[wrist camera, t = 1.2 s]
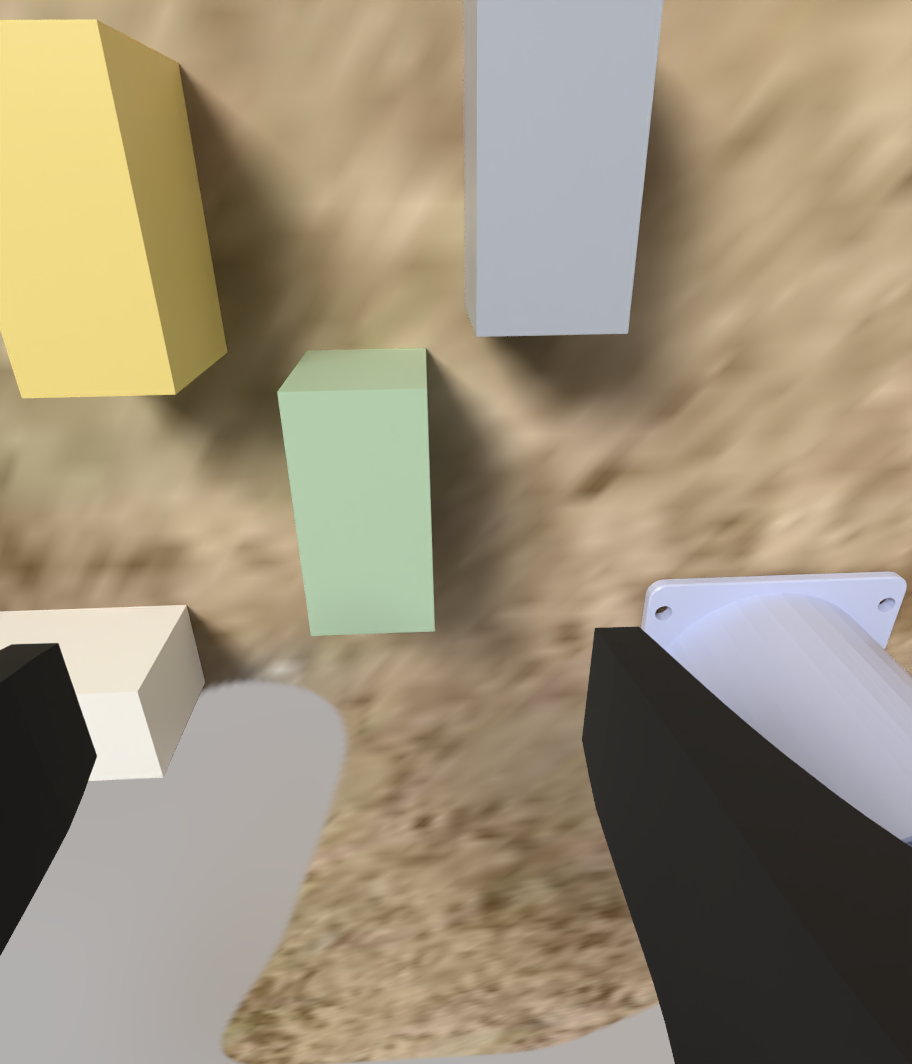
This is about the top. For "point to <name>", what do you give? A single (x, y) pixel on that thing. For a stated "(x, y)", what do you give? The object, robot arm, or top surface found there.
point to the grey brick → (555, 161)
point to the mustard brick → (100, 217)
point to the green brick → (361, 488)
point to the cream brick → (123, 678)
